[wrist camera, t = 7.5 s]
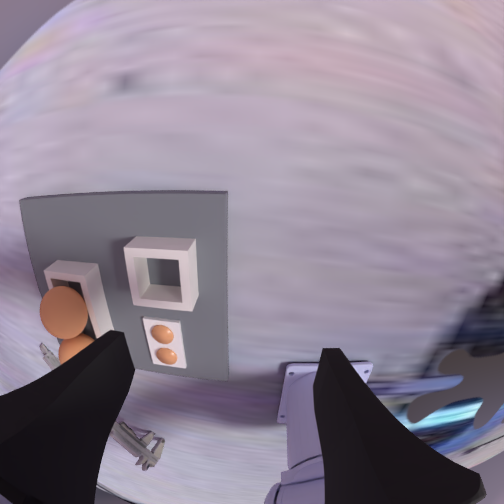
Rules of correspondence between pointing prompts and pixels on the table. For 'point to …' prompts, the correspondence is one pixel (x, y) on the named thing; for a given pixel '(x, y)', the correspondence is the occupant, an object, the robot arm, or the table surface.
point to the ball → (63, 312)
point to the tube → (162, 294)
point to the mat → (160, 270)
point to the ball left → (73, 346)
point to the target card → (165, 341)
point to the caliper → (123, 430)
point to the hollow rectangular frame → (83, 289)
